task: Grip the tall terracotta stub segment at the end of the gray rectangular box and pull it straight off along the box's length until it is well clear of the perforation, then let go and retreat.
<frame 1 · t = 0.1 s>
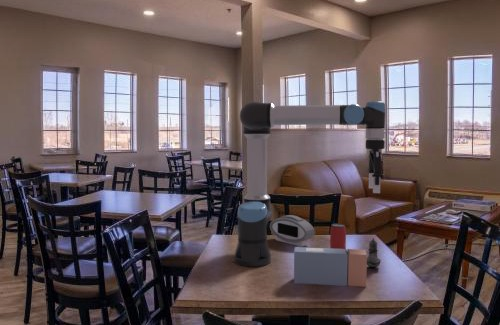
hand: (374, 190, 174), 28 cm above the table, fingers open, 13 cm apart
beer can: (337, 252, 183), on the table
gray rectangular box: (320, 282, 147), on the table
stub: (356, 267, 145), point 6 cm above the table, slide at 0.0 cm
dark rounded upright piece: (372, 269, 161), on the table
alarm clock: (291, 242, 199), on the table
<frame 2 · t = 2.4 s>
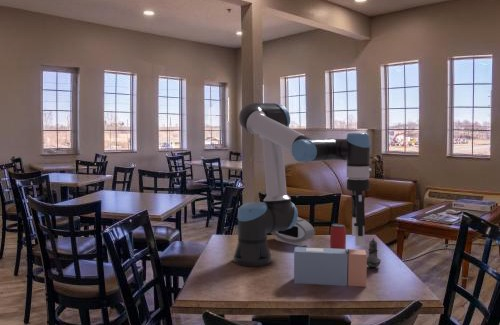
hand: (357, 240, 144), 15 cm above the table, fingers open, 13 cm apart
nothing on the table moved.
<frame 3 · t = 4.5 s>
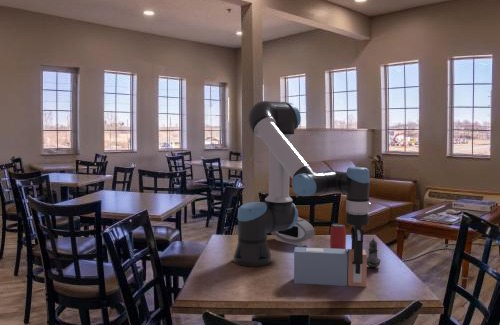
hand: (356, 278, 145), 2 cm above the table, fingers closed on stub, 6 cm apart
stub: (356, 267, 145), point 6 cm above the table, slide at 0.0 cm, touching gripper
everything else where it was.
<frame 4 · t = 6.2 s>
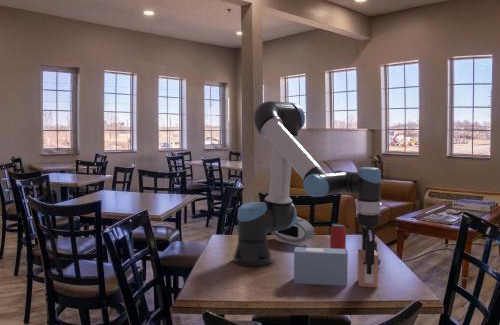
hand: (367, 279, 144), 2 cm above the table, fingers closed on stub, 6 cm apart
stub: (367, 267, 144), point 6 cm above the table, slide at 3.7 cm, touching gripper
everything else where it was.
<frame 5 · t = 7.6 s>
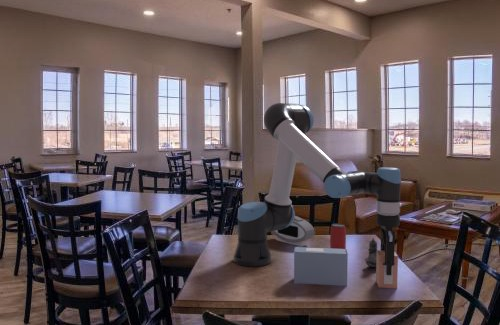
hand: (386, 280, 143), 2 cm above the table, fingers closed on stub, 6 cm apart
stub: (386, 268, 143), point 6 cm above the table, slide at 10.0 cm, touching gripper
everything else where it was.
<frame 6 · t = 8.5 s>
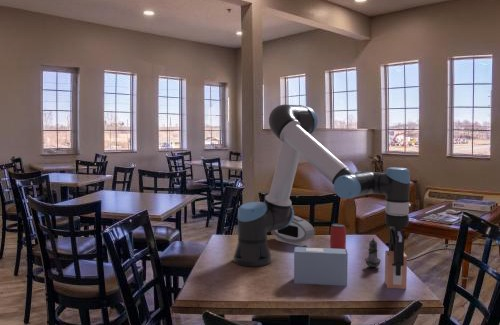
hand: (395, 280, 143), 2 cm above the table, fingers closed on stub, 6 cm apart
stub: (395, 269, 143), point 6 cm above the table, slide at 12.9 cm, touching gripper
everything else where it was.
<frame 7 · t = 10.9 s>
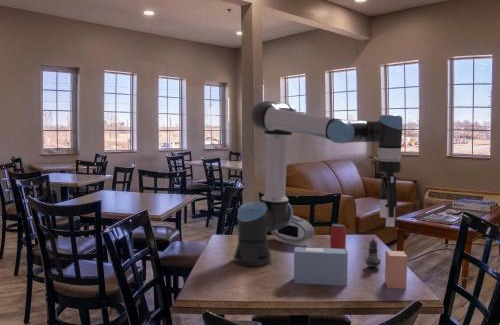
hand: (386, 221, 145), 21 cm above the table, fingers open, 13 cm apart
stub: (395, 269, 143), point 6 cm above the table, slide at 13.0 cm
everything else where it was.
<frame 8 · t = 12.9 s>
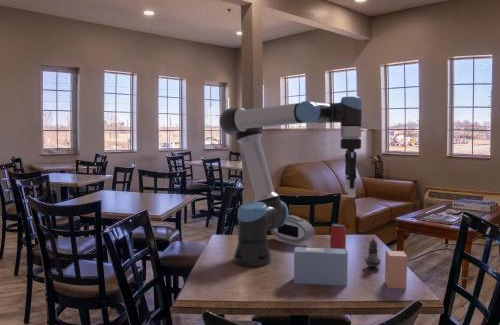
hand: (349, 194, 159), 29 cm above the table, fingers open, 13 cm apart
nothing on the table moved.
at the end: stub slide at 13.0 cm; the gripper is holding nothing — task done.
